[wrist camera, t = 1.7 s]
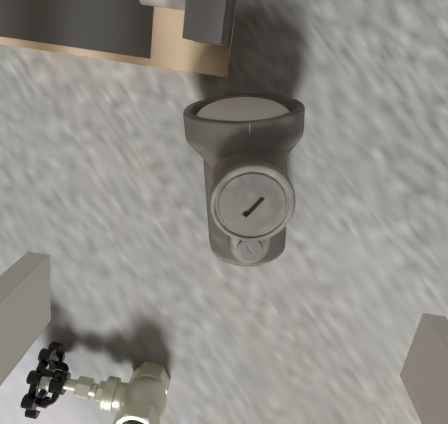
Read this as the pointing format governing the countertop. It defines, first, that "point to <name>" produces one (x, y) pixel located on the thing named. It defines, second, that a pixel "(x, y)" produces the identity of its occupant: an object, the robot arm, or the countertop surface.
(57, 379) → the valve
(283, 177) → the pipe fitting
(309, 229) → the countertop surface
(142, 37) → the shaft bed
